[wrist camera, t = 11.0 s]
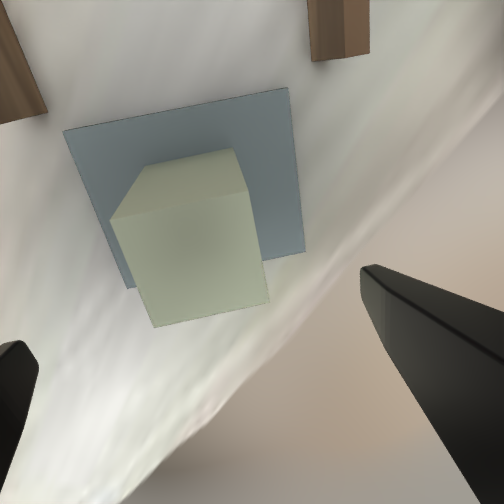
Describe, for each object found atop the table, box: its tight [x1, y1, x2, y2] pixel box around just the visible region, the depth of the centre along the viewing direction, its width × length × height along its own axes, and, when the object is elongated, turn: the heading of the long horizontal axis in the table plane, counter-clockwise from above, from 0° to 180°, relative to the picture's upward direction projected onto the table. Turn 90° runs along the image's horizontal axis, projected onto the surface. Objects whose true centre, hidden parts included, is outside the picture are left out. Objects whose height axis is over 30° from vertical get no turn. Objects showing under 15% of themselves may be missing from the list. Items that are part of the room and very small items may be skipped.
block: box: [110, 147, 270, 328], centre depth 17 cm, size 5×5×8 cm
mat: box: [63, 88, 306, 289], centre depth 21 cm, size 12×10×1 cm
